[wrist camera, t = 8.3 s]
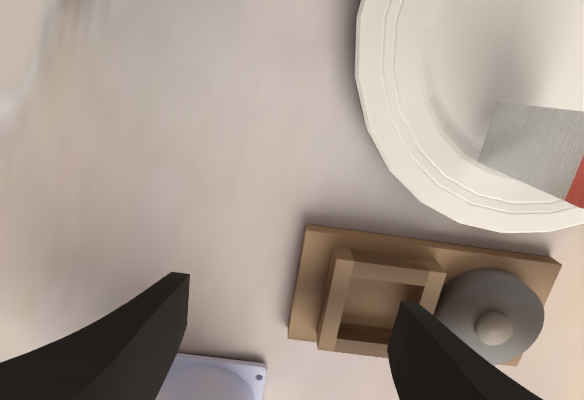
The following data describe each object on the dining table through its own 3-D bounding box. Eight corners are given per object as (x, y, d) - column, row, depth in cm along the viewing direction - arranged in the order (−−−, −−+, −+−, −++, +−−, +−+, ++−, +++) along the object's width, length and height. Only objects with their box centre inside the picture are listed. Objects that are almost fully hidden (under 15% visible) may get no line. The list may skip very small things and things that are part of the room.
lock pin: (533, 170, 20) (666, 220, 13) (477, 161, 19) (581, 208, 12) (556, 111, 19) (713, 131, 12) (497, 101, 18) (621, 115, 11)
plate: (389, -243, 16) (402, -284, 14) (841, -178, 16) (909, -209, 14) (324, 205, 22) (327, 216, 20) (644, 237, 23) (674, 251, 21)
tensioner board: (508, 355, 26) (535, 390, 23) (287, 328, 25) (287, 361, 22) (551, 257, 23) (587, 282, 20) (305, 223, 22) (307, 245, 19)
